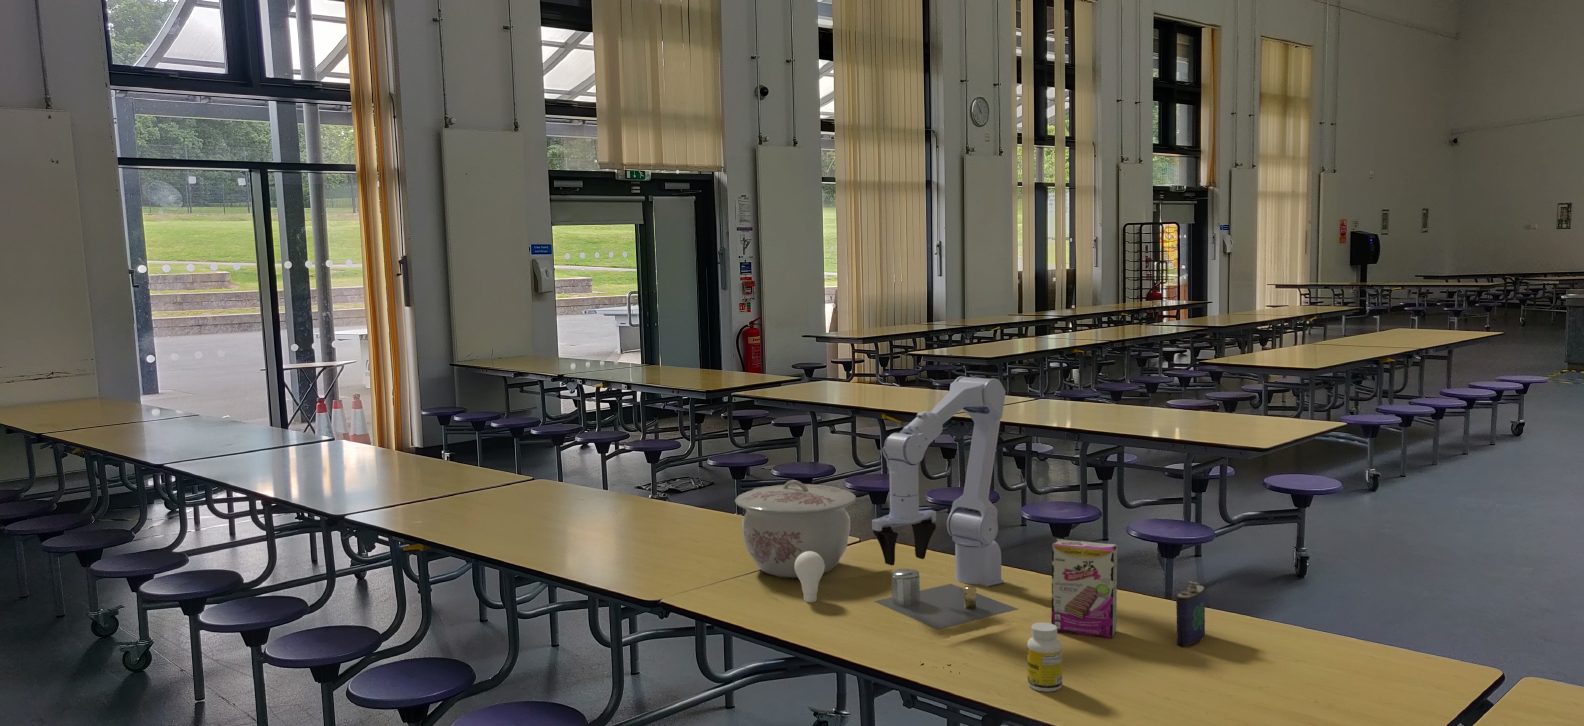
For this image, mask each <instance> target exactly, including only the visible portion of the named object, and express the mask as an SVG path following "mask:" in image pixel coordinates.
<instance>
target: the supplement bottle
mask: <svg viewBox="0 0 1584 726" xmlns="http://www.w3.org/2000/svg"><path fill="white" fill-rule="evenodd" d="M1031 636H1032V637H1030V638H1029V639H1028V640H1027V644H1026V645H1027V646H1026V647H1027V649H1026V650H1027V653H1026V657H1027V658H1026V659H1027V660H1026V661H1027V684H1028V686H1029V687H1030V688H1031V689H1033V690H1035V691H1037V692H1043V693H1044V692H1046V693H1050V692H1056V691H1058V690H1061V688H1062V686H1063V645H1062V642H1061V640H1060V639H1058V638H1057V637H1058V631H1057V627H1056V626H1055V625H1053V624H1051V622H1050V623H1049V622H1035V623H1033V624H1032V625H1031Z"/></svg>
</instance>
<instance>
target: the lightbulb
mask: <svg viewBox="0 0 1584 726" xmlns="http://www.w3.org/2000/svg"><path fill="white" fill-rule="evenodd" d="M794 568H795V572H796V574H797V576H798V578H797V579H799V581H800V584H801V590H802V591H801V592H802V593H803V601H804V602H806V603H814V602H816V601H817V600H818V599H817V598H818V597H817V595H818V594H817V593H818V591H819V584H820V580H821V579H822V577H823V574H824V573H823V572H824V569H825V564H824V561H823V559H822V557H821V556H820V555H819V554H817V553H816V552H813V551H806V552H804V553H802V554H800V555H799V556H798V557H797V559H796V561H795V565H794Z"/></svg>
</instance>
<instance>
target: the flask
mask: <svg viewBox="0 0 1584 726" xmlns="http://www.w3.org/2000/svg"><path fill="white" fill-rule="evenodd" d="M1186 583H1188V584H1189V585H1188V587H1187V588H1186V589H1187V590H1184V591H1180V593H1179V592H1178V593H1177V594H1176V597H1175V598H1176V599H1175V600H1176V601H1175V603H1176V605H1175V606H1176V607H1175V608H1176V646H1177V647H1180V648H1191V647H1194V646H1196V645H1197V644H1199V643H1200V642H1201V641H1202V640H1203V639H1204V638H1205V637H1204V636H1206V629H1205V627H1206V625H1205V624H1206V620H1205V619H1206V618H1205V617H1206V615H1205V613H1206V601H1205V600H1206V587H1205V586H1203V585H1200V582H1194V581H1192V580H1187V582H1186ZM1202 638H1203V639H1202Z"/></svg>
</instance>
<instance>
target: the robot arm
mask: <svg viewBox="0 0 1584 726" xmlns="http://www.w3.org/2000/svg"><path fill="white" fill-rule="evenodd" d="M1006 393H1007V392H1006V390H1005V388H1004V386H1003V384H1002V382H1001V380H999V379H997V378H983V377H981V378H980V377H969V376H963V375H961V376H958V377H956V378H955V380H954V381H953V382H950V386H949V392H947V393H946V395H945V396H944V397H943V398H942V399H941V400H940V401H939V402H938V403H937V404H936V405H935V406H934V407H933V408H932V409H931V410H930V411H928V410H924V411H919V412H918V413H917V414H916V417H915V418H914V419H912V421H910V422H909V423H908V424H907V425H905V426H904V427H903V428H902V430H900V431H899V432H893V433H891V434H890V435H889V436H887V437H886V439H885V440H884V445H883V447H882V449H881V450H882V454H883V457H884V458H885V460H886V467H887V469H888V471H889V513H888V514H886V515H884V516H882V517H879V518H878V517H877V518H875V519H872V520H871V526H872V527H871V528H872V529H871V530H872V531H873V534H874V536H875V538H876V539H877V541H878V543H879V545H880V549H881V551H882V555H883V559H884V563H885V564H886V565H889V566H895V562H896V544H897V539H898V535H899V533H898V532H896V531H894V529H893V528H898V527H905V526H909V525H911V528H912V532H913V540H914V555H915V557H916V558H918V559H920V560H924V559H925V558H926V554H927V549H928V546H929V543H930V541H931V539H932V536H933V534H934V532H935V530H936V528H937V524H936V523H935V522H936V521H937V511H935V510H932V509H927V510H920V493H919V492H920V491H919V488H920V486H919V463H920V462H922V460H923V459H924V457H925V454H926V453H925V452H926V450H927V449H928V447H929V445H930V444H931V443H932V442H933V441H934V440H936V439H937V438H938V437H939V436H940V434H942V432H943V429H944V428H943V427H944V426H943V424H945V423H946V422H947V421H949V420H950V419H951V418H953V417H955V415H956V414H958V413H959V412H961V411H963V412H964V413H965V414H966V415H967V416H969V417H970V418H971V420H972V421H973V430H972V437H971V442H970V448H969V449H970V450H969V455H968V462H967V468H966V475H965V481H964V482H965V483H964V487H963V493H962V495H961V496H959V497H958V498H957V499H955V500H954V501H953V502H952V505H951V510H950V512H949V515H948V516H947V519H946V529H947V532H948V534H949V536H950V537H951V538H952V539H951V540H952V542H954V543H955V544H954V545H955V548H954V552H955V553H954V555H955V580H956V581H957V582H959V583H961V584H962V583H963V584H968V585H983V586H986V587H992V586H996V585H1000V584H1003V583H1005V580H1004V579H1002V551H1001V548H1000V545H999V544H998V542H996V540H995V539H996V538H997V535H998V532H999V524H998V514H999V513H998V508H996V506H995V505H994V504H993V503H992V502H991V501H990V499H989V495H990V490H991V483H992V477H993V469H994V463H995V459H996V451H997V444H998V437H999V433H1000V432H999V431H1000V427H1001V426H1000V425H1001V419H1002V418H1003V411H1004V405H1005V398H1006ZM973 510H974V511H973ZM975 510H976V511H978V512H976V511H975Z"/></svg>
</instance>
